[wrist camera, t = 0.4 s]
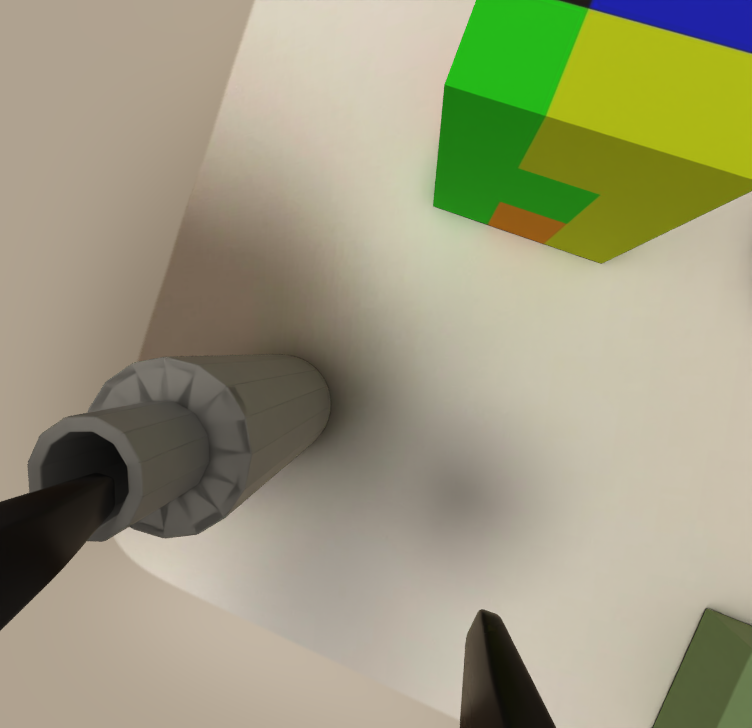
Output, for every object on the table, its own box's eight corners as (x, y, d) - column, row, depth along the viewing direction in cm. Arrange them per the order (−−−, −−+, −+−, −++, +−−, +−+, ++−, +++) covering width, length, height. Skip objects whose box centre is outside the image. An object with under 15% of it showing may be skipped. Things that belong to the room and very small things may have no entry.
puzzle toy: (675, 87, 20) (924, -170, 10) (601, 263, 21) (766, 183, 11) (498, 36, 21) (568, -246, 11) (433, 206, 22) (444, 84, 12)
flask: (270, 467, 24) (55, 636, 10) (221, 387, 24) (-59, 438, 10) (349, 419, 23) (239, 525, 9) (298, 336, 23) (113, 314, 9)
